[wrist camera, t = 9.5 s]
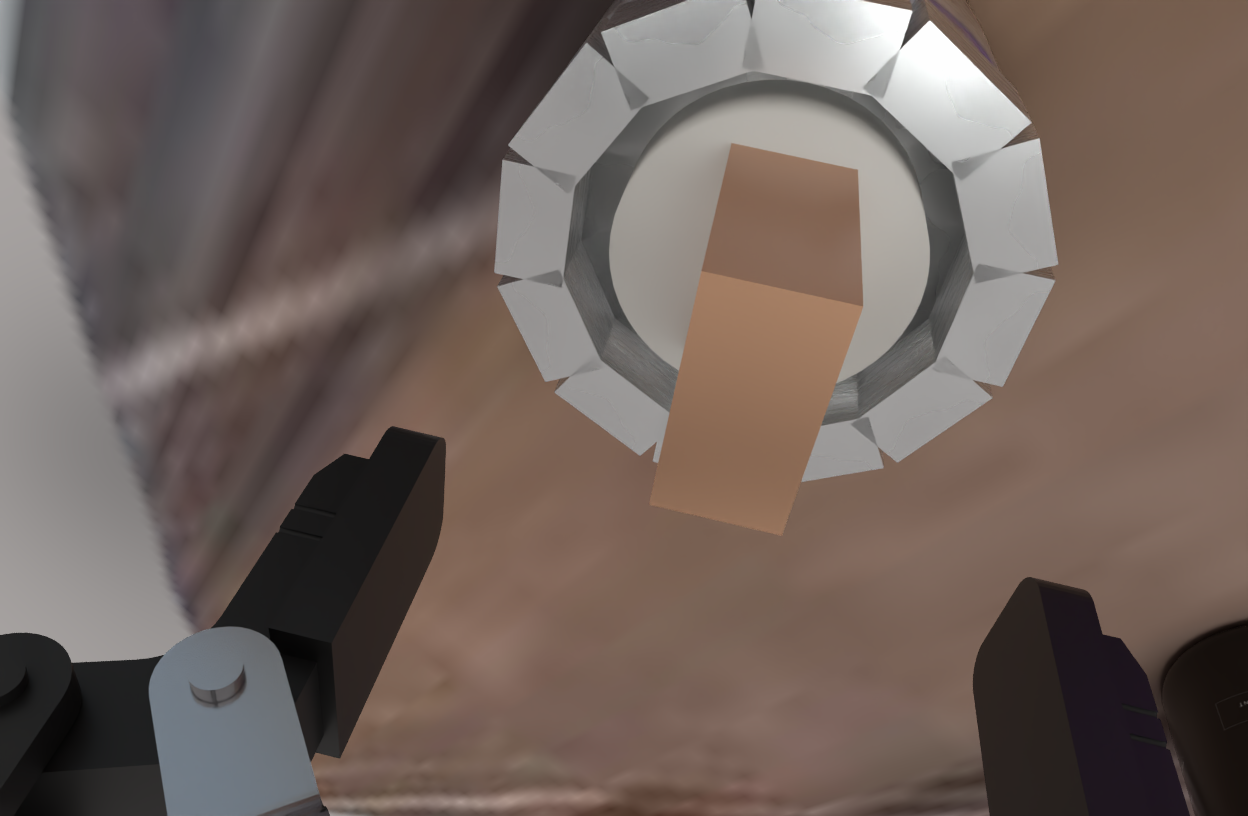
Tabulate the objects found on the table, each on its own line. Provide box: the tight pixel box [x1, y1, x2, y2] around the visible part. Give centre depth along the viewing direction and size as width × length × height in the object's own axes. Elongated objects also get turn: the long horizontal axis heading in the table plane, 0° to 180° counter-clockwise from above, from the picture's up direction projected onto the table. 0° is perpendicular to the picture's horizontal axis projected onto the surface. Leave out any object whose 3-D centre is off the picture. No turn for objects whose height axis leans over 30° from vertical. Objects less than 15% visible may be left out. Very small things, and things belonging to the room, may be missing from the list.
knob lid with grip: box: [609, 80, 930, 536], centre depth 18 cm, size 6×6×7 cm
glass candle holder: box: [494, 0, 1058, 482], centre depth 22 cm, size 11×11×7 cm
